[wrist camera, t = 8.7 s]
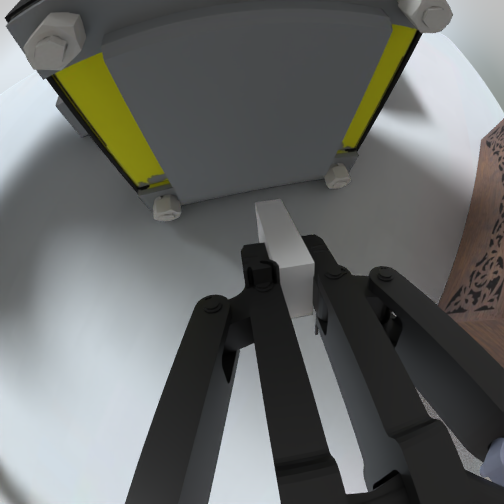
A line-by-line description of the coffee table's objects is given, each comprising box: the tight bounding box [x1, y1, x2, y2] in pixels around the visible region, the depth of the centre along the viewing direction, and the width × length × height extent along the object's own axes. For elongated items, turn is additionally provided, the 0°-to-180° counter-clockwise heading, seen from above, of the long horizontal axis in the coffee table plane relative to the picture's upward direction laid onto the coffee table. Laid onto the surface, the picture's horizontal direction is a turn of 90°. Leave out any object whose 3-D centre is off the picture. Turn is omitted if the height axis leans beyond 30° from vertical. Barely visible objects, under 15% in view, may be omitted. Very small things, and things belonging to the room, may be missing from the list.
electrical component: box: [5, 0, 453, 222], centre depth 15 cm, size 18×10×20 cm, turn 102°
